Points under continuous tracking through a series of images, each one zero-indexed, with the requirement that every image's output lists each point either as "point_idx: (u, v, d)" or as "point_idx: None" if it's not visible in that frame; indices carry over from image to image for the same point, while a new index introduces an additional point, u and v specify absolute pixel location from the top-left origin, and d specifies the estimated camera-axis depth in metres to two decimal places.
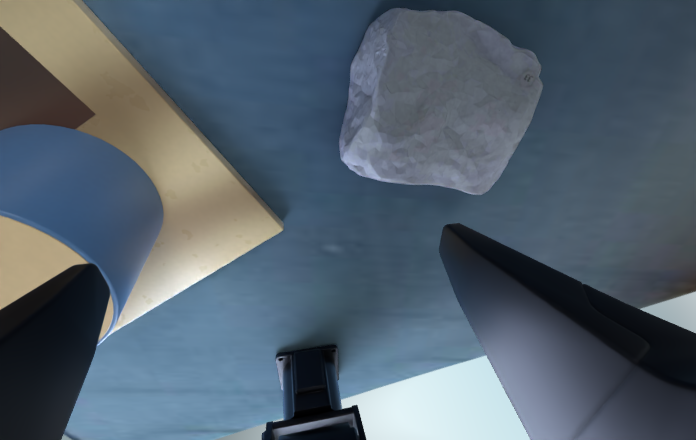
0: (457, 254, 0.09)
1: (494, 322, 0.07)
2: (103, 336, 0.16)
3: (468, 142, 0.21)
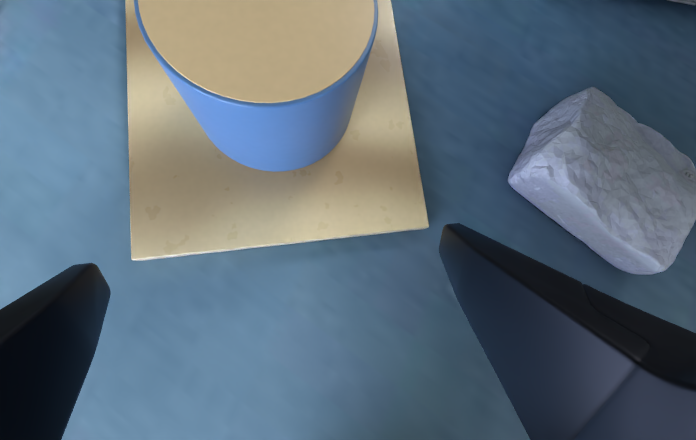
0: (457, 254, 0.09)
1: (494, 322, 0.07)
2: (303, 98, 0.13)
3: (646, 198, 0.21)
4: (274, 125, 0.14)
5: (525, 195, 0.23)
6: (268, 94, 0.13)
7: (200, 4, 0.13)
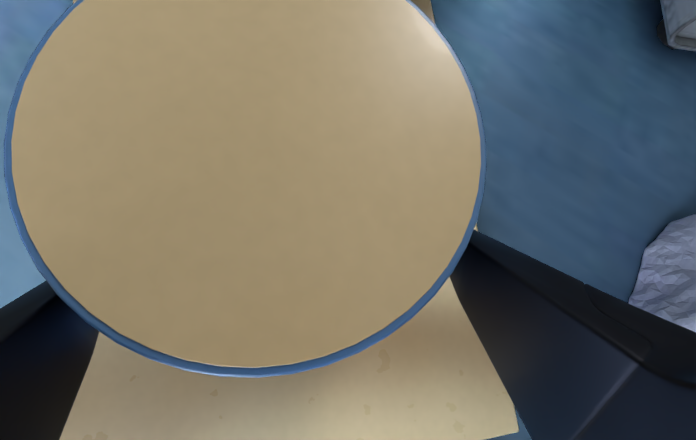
0: None
1: (495, 322, 0.07)
2: (355, 344, 0.06)
3: None
4: None
5: None
6: (283, 344, 0.06)
7: (145, 152, 0.07)
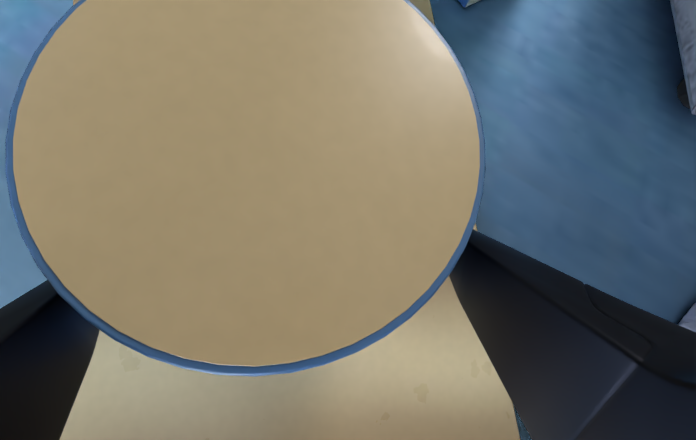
0: None
1: (495, 322, 0.07)
2: (352, 344, 0.06)
3: None
4: None
5: None
6: (281, 343, 0.06)
7: (145, 150, 0.07)
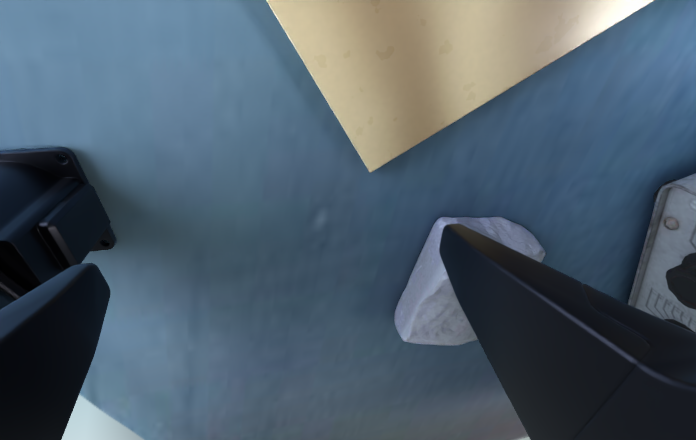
0: (457, 254, 0.09)
1: (494, 322, 0.07)
2: None
3: (455, 316, 0.26)
4: None
5: (430, 236, 0.25)
6: None
7: None
